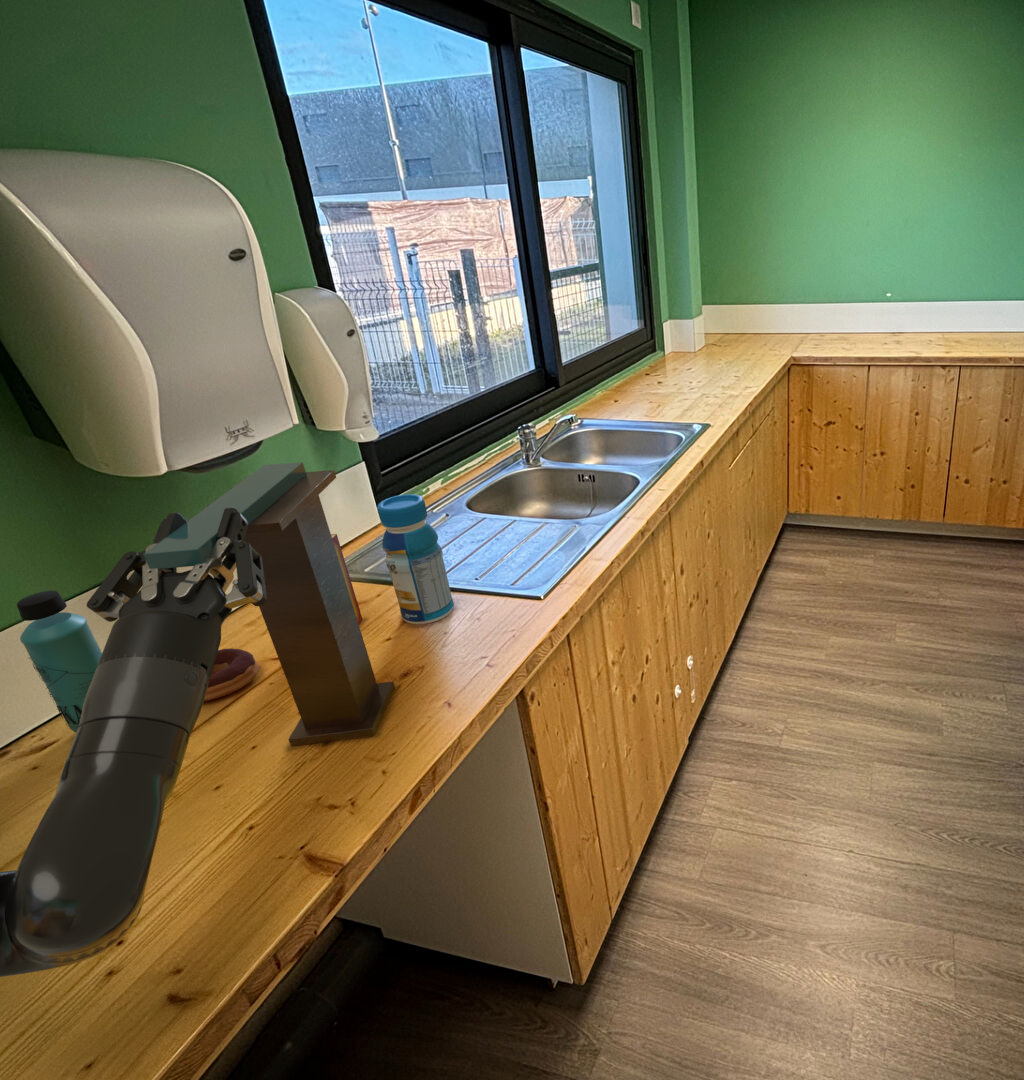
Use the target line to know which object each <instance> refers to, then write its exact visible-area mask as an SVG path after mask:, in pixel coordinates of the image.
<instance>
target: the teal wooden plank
mask: <svg viewBox="0 0 1024 1080" xmlns="http://www.w3.org/2000/svg"><path fill="white" fill-rule="evenodd" d="M306 472H307V471H306V468H305V464H304V462H303V461H298V462H286V463H272V464H264V465H262V466H260V467H259V468H258V469H256V470H254V472H253V473H251V474H250V475H248V476H246V477H247V478H246V477H245V478H246V479H245V478H244V480H243V479H242V480H243V481H242V480H241V481H242V482H241V481H239V482H240V483H239V482H238V483H239V484H238V483H237V484H238V485H237V484H235V485H236V486H235V485H234V486H235V487H234V486H233V487H234V488H233V487H231V488H232V489H231V488H230V489H231V490H230V489H228V490H227V491H228V492H227V491H226V492H227V493H226V492H225V493H223V494H224V495H223V494H222V495H223V496H222V495H220V496H219V497H220V498H219V497H218V498H219V499H218V498H216V499H217V500H216V499H215V500H216V501H215V500H214V501H215V502H214V501H212V502H213V503H212V502H211V503H212V504H211V503H210V504H211V505H210V504H208V505H209V506H208V505H207V506H208V507H207V506H206V507H207V508H206V507H204V508H205V509H204V508H203V509H204V510H203V509H202V510H203V511H202V510H200V511H201V512H200V511H199V512H200V513H199V512H197V513H196V514H197V515H196V514H195V515H196V516H195V515H193V516H192V517H193V518H192V517H191V518H192V519H191V518H189V519H190V520H189V519H188V520H189V521H188V520H187V521H188V522H186V523H185V524H184V525H182V526H181V527H180V528H178V529H177V530H176V531H174V532H173V533H172V534H170V535H169V536H168V537H166V538H165V539H163V540H162V541H161V542H159V543H158V544H157V545H155V546H154V547H153V548H151V549H150V550H149V551H147V552H146V553H144V557H145V559H146V561H147V564H148V566H149V568H150V569H154V568H158V569H167V568H177V569H178V568H188V567H194V565H196V564H203V562H204V559H205V557H209V556H210V553H211V550H212V547H213V546H214V544H215V543H216V541H217V540H218V539H217V538H216V537H217V531H218V528H219V525H220V522H221V519H222V516H223V513H224V510H225V508H233V507H235V508H236V509H237V510H238V511H239V512H240V513H241V515H242V516H243V517H244V518H245V519H246V520H247V522H248V525H250V524H251V523H252V522H253V521H254V520H255V519H256V518H258V517H259V516H260V515H261V514H262V513H263V512H264V511H266V510H267V509H268V508H269V507H270V506H271V505H272V504H274V503H275V502H276V501H277V500H278V499H279V498H280V497H281V496H283V495H284V494H285V493H286V492H287V491H288V490H289V489H291V488H292V487H293V486H294V485H295V484H296V483H297V482H299V481H300V480H301V479H302V478H303V477H304V476H305V475H306Z"/></svg>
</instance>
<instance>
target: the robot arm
mask: <svg viewBox="0 0 1024 1080" xmlns="http://www.w3.org/2000/svg"><path fill="white" fill-rule="evenodd" d="M186 522H188V519H186V518H185V517H184V516H183V515H182V514H181V512H169V513H168V514H167V516H166V518H164V519H162V521H161V522H160V523H159V526H158V529H157V531H156V533H155V536H154V539H153V541H152V543H151V544H149V545H148V546H146V548H145V550H142V551H139V552H136V551H134V550H131V551H127V552H125V553H124V554H122V556H121V558H120V559H119V560H118V561H117V563H116V564H115V565H114V567H113V568H112V569H111V571H109V573H108V575H106V577H105V579H104V580H103V581H102V582H101V583H100V585H99V586H98V587H97V588H96V590H95V591H94V593H92V595H91V596H90V598H89V599H88V601H87V602H86V608H87V609H89V610H90V611H92V612H93V613H95V614H96V615H98V616H99V617H100V618H102V619H103V620H105V621H107V622H109V623H112V622H114V624H113V625H112V627H111V629H110V632H109V635H108V637H107V639H106V642H105V645H104V648H103V651H102V655H101V658H100V660H99V663H98V666H97V668H96V671H95V673H94V676H93V679H92V681H91V684H90V686H89V689H88V692H87V694H86V697H85V700H84V704H83V708H82V714H81V719H80V723H79V726H78V730H77V732H76V733H75V735H74V738H73V741H72V744H71V746H70V748H69V751H68V754H67V756H66V759H65V762H64V764H63V766H62V769H61V773H60V775H59V780H58V784H57V787H56V791H55V794H54V797H53V798H52V800H51V802H50V804H49V805H48V807H47V809H46V811H45V812H44V814H43V815H42V818H41V819H40V821H39V823H38V825H37V827H36V829H35V831H34V833H33V834H32V837H31V839H30V841H29V843H28V845H27V847H26V849H25V851H24V854H23V856H22V858H21V860H20V862H19V865H18V867H17V868H16V869H15V870H14V869H13V870H6V871H0V978H3V977H11V976H18V975H23V974H31V973H37V972H42V971H48V970H53V969H57V968H62V967H66V966H71V965H75V964H78V963H81V962H84V961H87V960H90V959H91V958H94V957H96V956H98V955H100V954H102V953H104V952H105V951H107V950H108V949H110V948H111V947H113V946H114V945H115V944H117V943H118V942H119V941H120V940H121V939H123V938H124V937H125V936H126V935H127V933H128V932H129V931H130V930H131V929H132V928H133V927H134V925H135V924H136V922H137V920H138V918H139V916H140V914H141V912H142V910H143V906H144V901H145V894H146V890H147V888H146V887H147V883H148V878H149V874H150V870H151V866H152V862H153V857H154V853H155V850H156V845H157V841H158V837H159V832H160V828H161V824H162V820H163V815H164V812H165V806H166V803H167V802H168V801H169V799H170V798H171V796H172V793H173V791H174V789H175V786H176V784H177V781H178V779H179V775H180V772H181V769H182V766H183V762H184V759H185V755H186V751H187V748H188V745H189V742H190V737H191V735H192V732H193V729H194V727H195V725H196V723H197V720H198V719H199V717H200V714H201V712H202V710H203V709H202V708H203V706H204V702H205V701H204V699H205V695H206V692H207V688H208V684H209V681H210V678H211V674H212V670H213V667H214V663H215V660H216V656H217V653H218V650H220V646H221V641H222V627H223V624H224V622H225V620H226V619H227V618H228V617H229V616H230V615H231V614H232V612H233V609H235V608H239V607H241V606H245V605H247V604H250V603H251V604H252V605H253V606H254V607H259V606H261V605H263V604H264V603H265V602H266V601H267V595H266V587H265V579H264V570H263V562H262V557H261V556H260V555H259V554H258V553H257V552H256V551H255V550H254V549H253V548H252V547H251V545H250V544H249V543H248V542H247V541H244V537H245V533H246V531H247V530H246V529H247V527H248V522H247V520H246V519H245V518H244V517H243V516H242V515H241V513H240V512H239V511H238V510H237V509H236V508H235V507H233V508H225V510H224V513H223V516H222V519H221V522H220V525H219V528H218V531H217V537H216V538H217V539H218V540H217V541H216V543H215V544H214V546H213V547H212V550H211V553H210V556H209V557H205V559H204V562H203V564H196V565H194V566H192V568H191V569H189V570H186V571H182V572H178V568H167V569H158V568H154V569H150V568H149V566H148V564H147V561H146V559H145V557H144V553H146V552H147V551H149V550H150V549H151V548H153V547H154V546H155V545H157V544H158V543H159V542H161V541H162V540H163V539H165V538H166V537H168V536H169V535H170V534H172V533H173V532H174V531H176V530H177V529H178V528H180V527H181V526H182V525H184V524H185V523H186ZM235 570H236V576H237V577H236V579H235V578H234V576H235V575H234V572H235ZM132 571H133V572H132ZM131 572H132V573H131ZM130 573H131V574H130ZM129 574H130V576H129ZM128 576H129V577H128ZM231 584H233V585H232V589H231V591H230V592H229V593H228V594H227V593H226V592H227V590H228V588H229V587H230V585H231Z"/></svg>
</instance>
